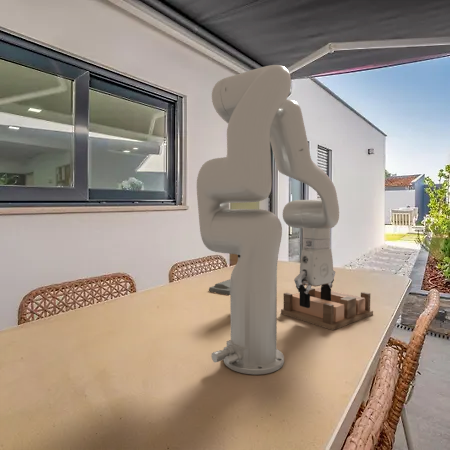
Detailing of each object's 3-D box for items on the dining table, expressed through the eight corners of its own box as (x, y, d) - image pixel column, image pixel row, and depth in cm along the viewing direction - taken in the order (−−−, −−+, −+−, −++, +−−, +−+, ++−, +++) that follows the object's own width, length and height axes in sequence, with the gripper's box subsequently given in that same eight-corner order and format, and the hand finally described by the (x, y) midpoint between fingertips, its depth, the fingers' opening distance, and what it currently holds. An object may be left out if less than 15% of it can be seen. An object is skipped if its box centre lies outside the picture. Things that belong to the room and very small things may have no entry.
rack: (332, 330, 89) (333, 306, 89) (281, 313, 103) (281, 292, 103) (373, 314, 101) (373, 293, 101) (321, 301, 116) (321, 283, 115)
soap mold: (257, 285, 141) (257, 277, 141) (230, 296, 124) (229, 287, 124) (235, 282, 147) (235, 274, 146) (207, 292, 130) (207, 283, 130)
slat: (344, 318, 94) (344, 304, 94) (335, 322, 92) (336, 307, 91) (297, 305, 107) (297, 293, 106) (289, 308, 104) (289, 295, 104)
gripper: (307, 248, 90) (306, 312, 91) (345, 243, 100) (344, 301, 101) (285, 245, 95) (285, 306, 96) (323, 241, 106) (322, 296, 107)
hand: (315, 303), depth 99 cm, fingers open, 9 cm apart
